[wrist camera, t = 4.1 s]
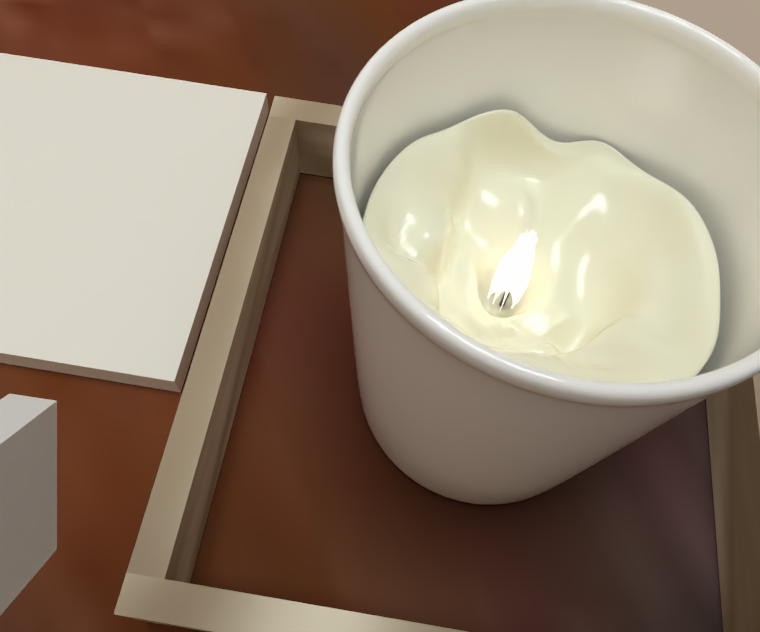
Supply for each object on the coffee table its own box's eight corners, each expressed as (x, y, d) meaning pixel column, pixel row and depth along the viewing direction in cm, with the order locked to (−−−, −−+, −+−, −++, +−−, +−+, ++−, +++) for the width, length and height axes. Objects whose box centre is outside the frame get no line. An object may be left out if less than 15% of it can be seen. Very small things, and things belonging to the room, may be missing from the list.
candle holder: (376, 240, 26) (400, -52, 15) (628, 300, 25) (833, 38, 15) (301, 486, 22) (260, 313, 11) (604, 567, 21) (874, 467, 10)
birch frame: (716, 217, 27) (756, 169, 25) (765, 729, 19) (833, 740, 16) (281, 150, 28) (275, 95, 25) (144, 621, 20) (113, 613, 17)
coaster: (268, 111, 29) (266, 93, 28) (180, 392, 23) (174, 381, 22) (-27, 65, 29) (-38, 47, 28) (-189, 331, 23) (-210, 318, 22)
